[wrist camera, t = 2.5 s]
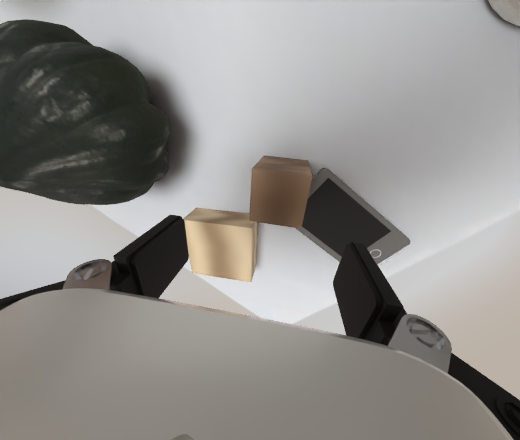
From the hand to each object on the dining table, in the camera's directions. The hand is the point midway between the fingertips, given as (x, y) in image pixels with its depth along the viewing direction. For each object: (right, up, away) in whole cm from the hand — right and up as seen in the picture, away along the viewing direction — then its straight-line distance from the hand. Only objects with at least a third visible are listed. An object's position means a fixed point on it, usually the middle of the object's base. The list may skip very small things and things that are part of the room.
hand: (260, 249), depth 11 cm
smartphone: (+11, +1, +14) cm, 18 cm away
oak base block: (-5, -1, +18) cm, 18 cm away
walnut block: (+3, +7, +12) cm, 14 cm away
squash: (-16, +13, +12) cm, 24 cm away
